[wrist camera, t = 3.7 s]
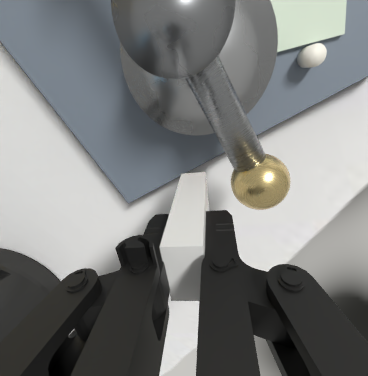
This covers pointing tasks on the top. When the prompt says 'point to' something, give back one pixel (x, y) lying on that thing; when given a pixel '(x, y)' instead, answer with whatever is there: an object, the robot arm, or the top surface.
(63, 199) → the top surface
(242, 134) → the grey lever with knob
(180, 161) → the stand
